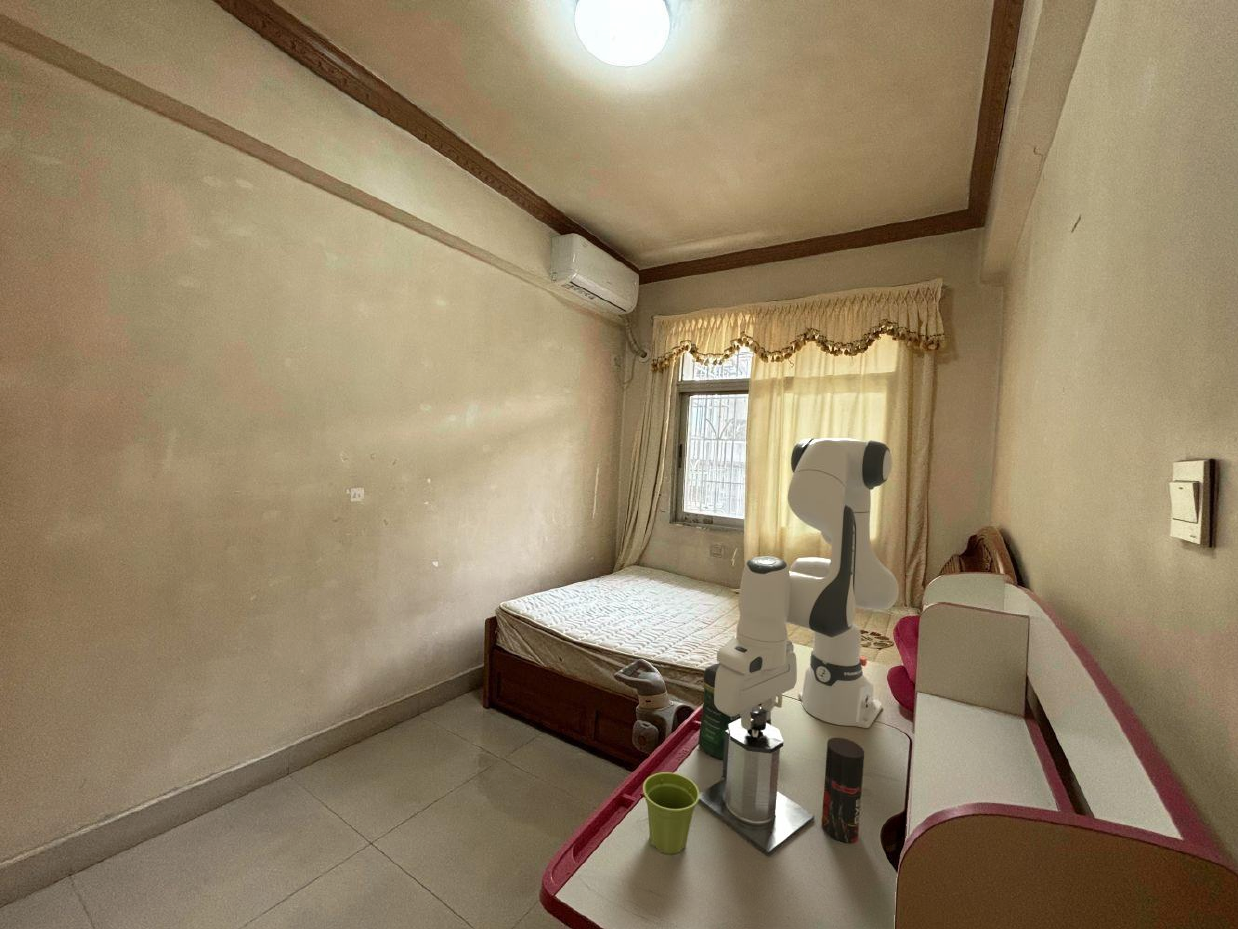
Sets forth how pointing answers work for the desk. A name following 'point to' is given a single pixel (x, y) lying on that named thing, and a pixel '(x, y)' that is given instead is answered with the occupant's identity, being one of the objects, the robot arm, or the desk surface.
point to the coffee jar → (713, 718)
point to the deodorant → (842, 790)
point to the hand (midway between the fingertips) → (755, 723)
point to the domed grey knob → (758, 720)
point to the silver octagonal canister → (754, 790)
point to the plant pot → (670, 809)
